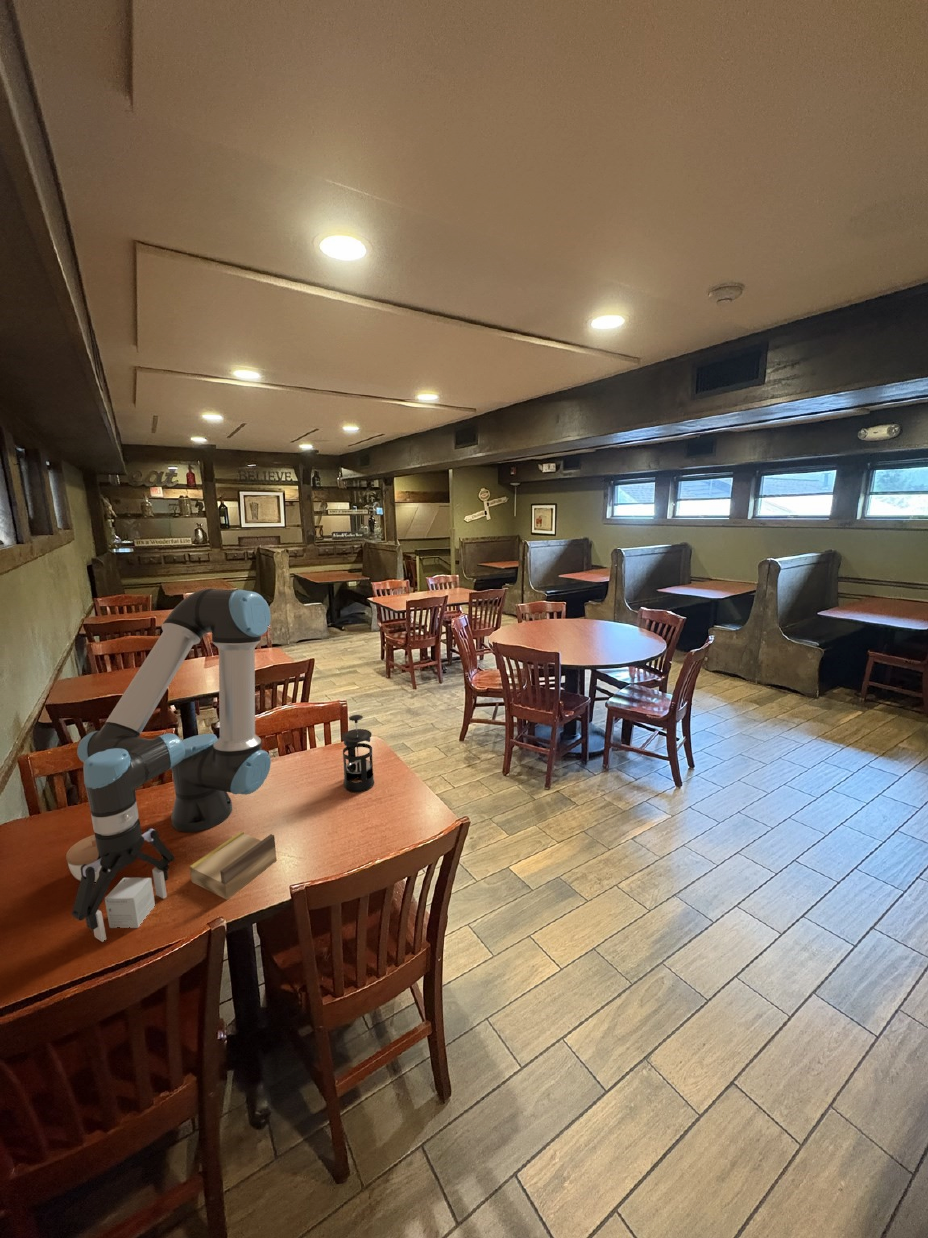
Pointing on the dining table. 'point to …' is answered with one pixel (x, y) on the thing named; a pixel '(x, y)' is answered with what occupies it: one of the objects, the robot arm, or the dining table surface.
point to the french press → (357, 759)
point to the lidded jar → (82, 856)
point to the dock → (234, 864)
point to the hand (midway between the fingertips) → (132, 916)
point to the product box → (130, 902)
